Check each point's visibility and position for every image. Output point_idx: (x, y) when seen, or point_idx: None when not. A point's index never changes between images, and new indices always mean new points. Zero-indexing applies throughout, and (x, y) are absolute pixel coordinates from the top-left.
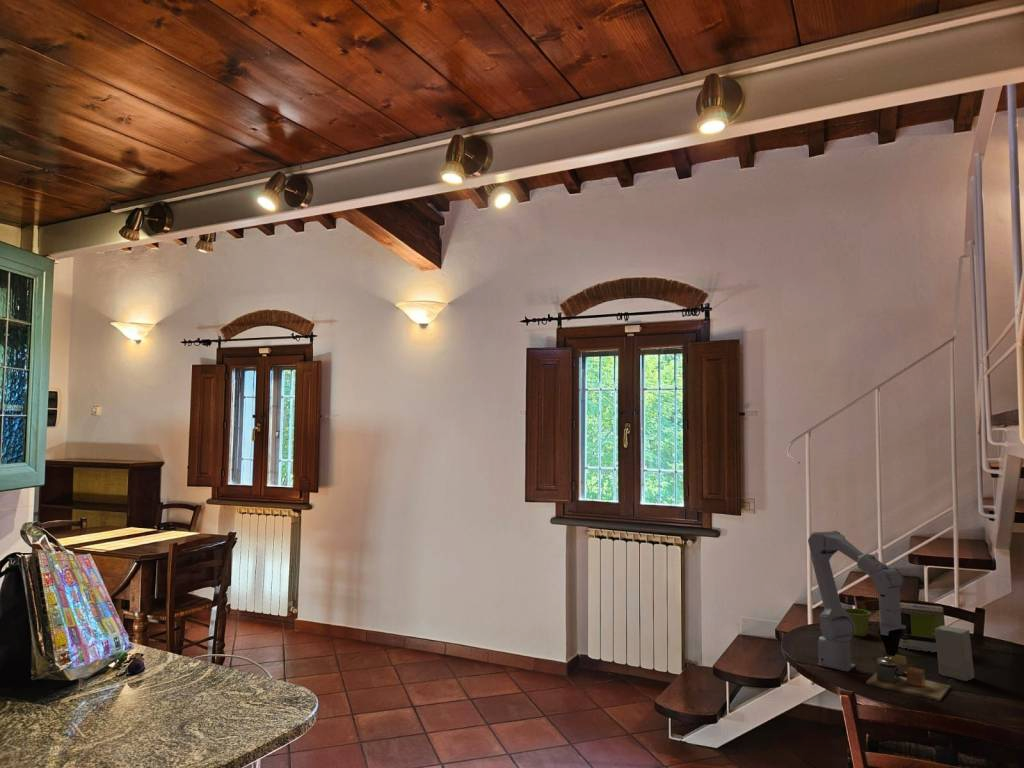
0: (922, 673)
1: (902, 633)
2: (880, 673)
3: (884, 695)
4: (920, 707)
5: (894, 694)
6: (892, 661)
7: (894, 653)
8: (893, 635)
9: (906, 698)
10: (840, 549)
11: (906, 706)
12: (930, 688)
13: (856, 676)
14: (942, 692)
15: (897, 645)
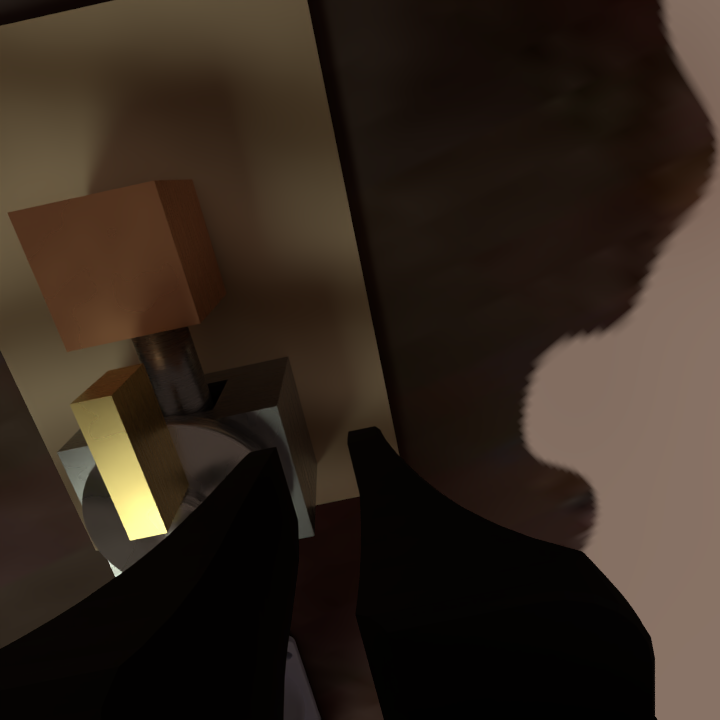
0: (115, 190)
1: (11, 670)
2: (308, 470)
3: (526, 307)
4: (579, 14)
5: (449, 276)
6: (185, 476)
7: (385, 439)
8: (649, 664)
9: (462, 182)
10: None
11: (636, 99)
12: (125, 136)
13: (317, 572)
14: (123, 15)
15: (243, 512)
